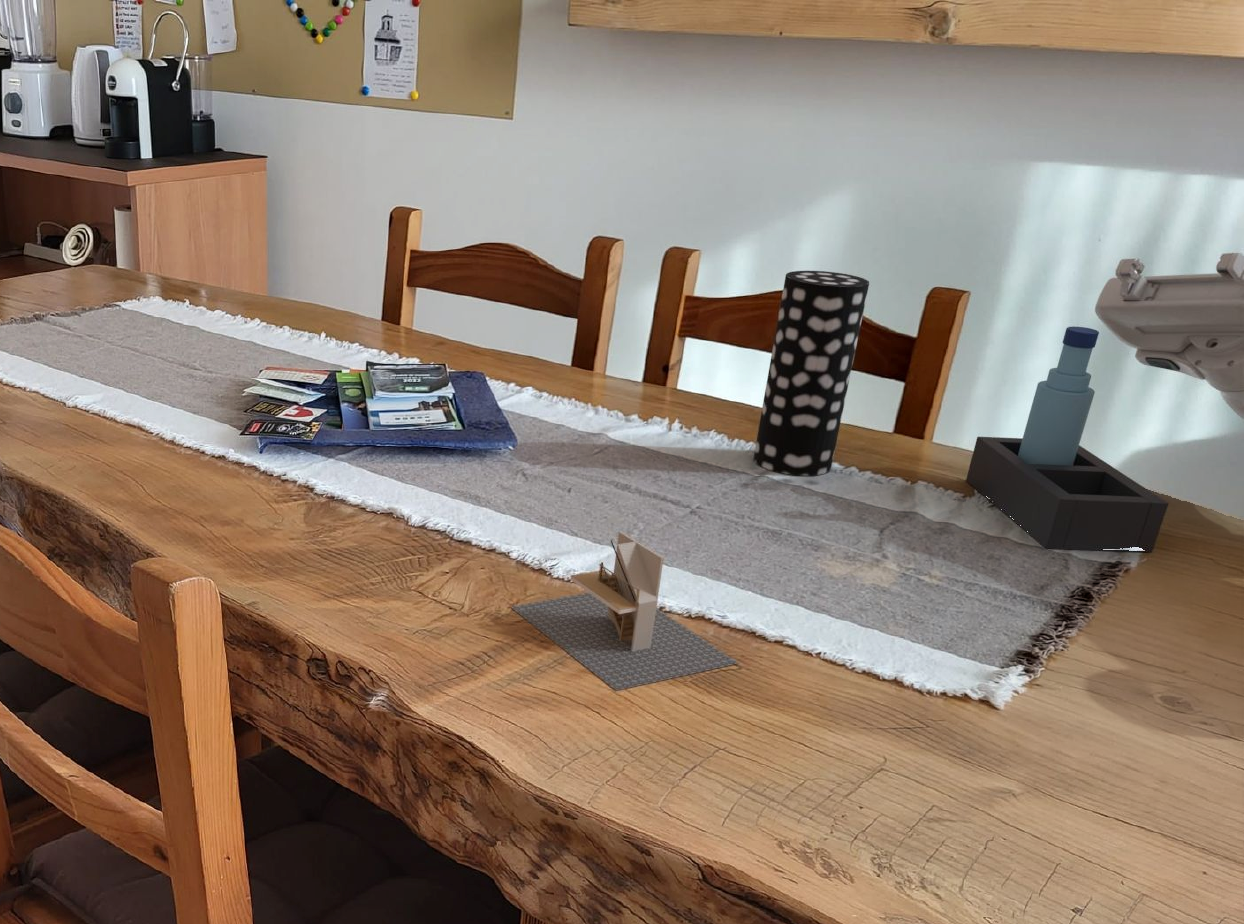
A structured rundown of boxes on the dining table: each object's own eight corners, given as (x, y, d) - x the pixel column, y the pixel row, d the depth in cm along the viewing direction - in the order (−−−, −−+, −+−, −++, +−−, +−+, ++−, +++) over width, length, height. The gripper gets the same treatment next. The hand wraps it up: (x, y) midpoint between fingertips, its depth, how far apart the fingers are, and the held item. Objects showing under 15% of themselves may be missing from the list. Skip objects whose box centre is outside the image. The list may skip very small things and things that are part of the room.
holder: (1058, 484, 135) (1072, 440, 133) (1152, 552, 119) (1169, 503, 116) (965, 480, 135) (977, 436, 133) (1045, 548, 119) (1060, 499, 116)
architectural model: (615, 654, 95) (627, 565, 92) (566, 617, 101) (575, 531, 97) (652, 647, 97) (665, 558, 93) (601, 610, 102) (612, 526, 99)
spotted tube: (846, 468, 137) (886, 282, 128) (796, 480, 133) (834, 289, 124) (787, 446, 143) (820, 268, 134) (737, 457, 139) (768, 274, 130)
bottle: (1046, 492, 133) (1095, 324, 125) (1070, 509, 128) (1122, 337, 120) (998, 490, 133) (1044, 322, 125) (1020, 507, 128) (1069, 335, 120)
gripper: (1342, 368, 114) (1280, 289, 107) (1125, 364, 132) (1059, 296, 125) (1370, 306, 115) (1311, 223, 108) (1150, 310, 132) (1086, 239, 125)
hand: (1174, 262), depth 116 cm, fingers open, 8 cm apart
